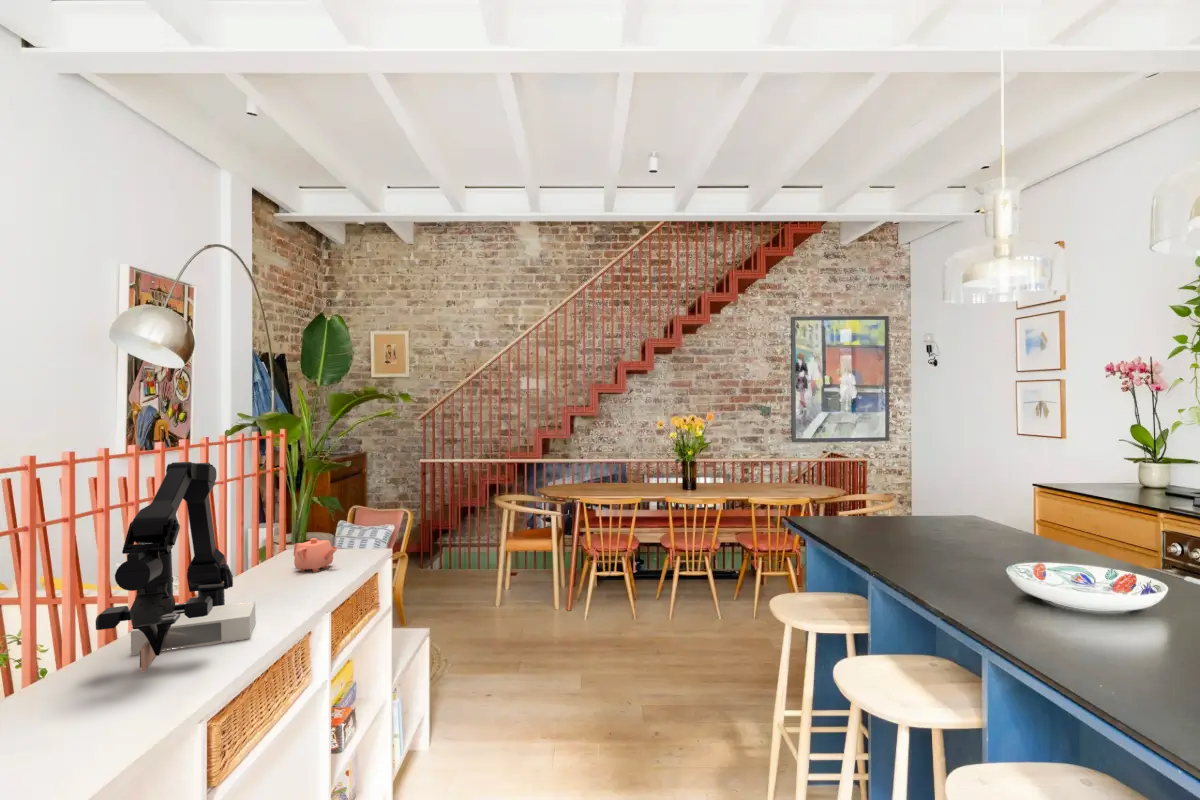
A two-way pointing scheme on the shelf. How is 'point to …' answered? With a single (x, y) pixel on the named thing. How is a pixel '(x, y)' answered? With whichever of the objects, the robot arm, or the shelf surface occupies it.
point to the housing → (205, 628)
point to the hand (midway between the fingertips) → (158, 655)
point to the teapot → (313, 554)
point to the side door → (146, 656)
